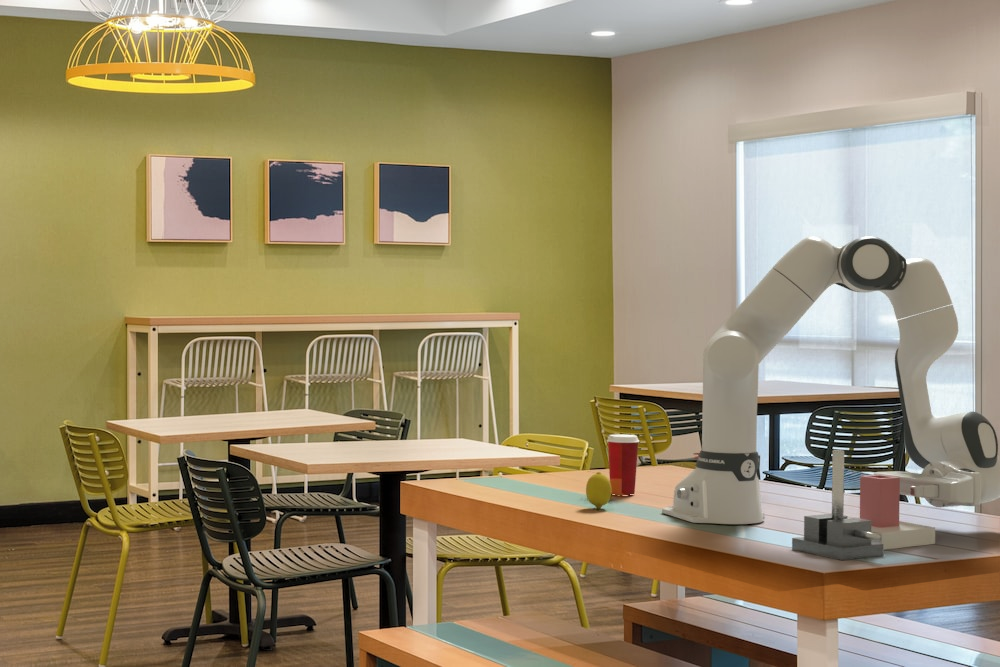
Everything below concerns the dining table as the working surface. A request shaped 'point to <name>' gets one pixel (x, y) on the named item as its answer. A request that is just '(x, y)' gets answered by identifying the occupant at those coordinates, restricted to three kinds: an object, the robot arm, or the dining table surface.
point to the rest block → (904, 535)
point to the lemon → (598, 490)
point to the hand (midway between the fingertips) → (893, 488)
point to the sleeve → (880, 500)
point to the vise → (838, 526)
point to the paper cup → (622, 463)
